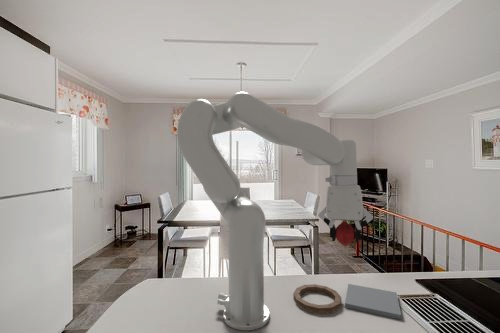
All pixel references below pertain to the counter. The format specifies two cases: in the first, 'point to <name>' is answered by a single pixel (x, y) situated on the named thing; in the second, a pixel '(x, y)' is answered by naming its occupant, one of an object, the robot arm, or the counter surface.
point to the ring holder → (314, 307)
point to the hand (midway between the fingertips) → (345, 240)
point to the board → (373, 301)
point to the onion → (345, 233)
